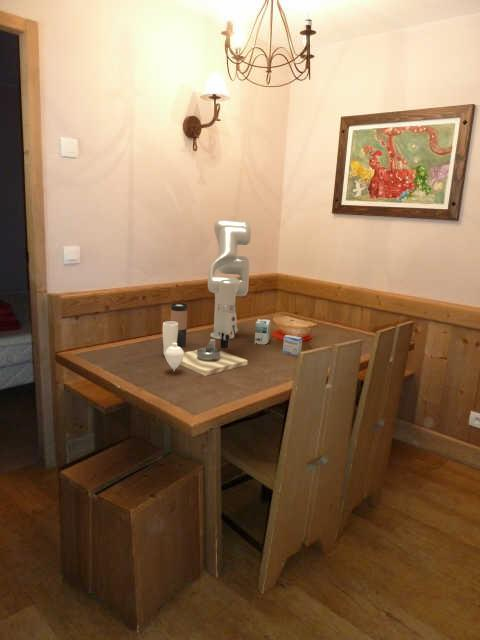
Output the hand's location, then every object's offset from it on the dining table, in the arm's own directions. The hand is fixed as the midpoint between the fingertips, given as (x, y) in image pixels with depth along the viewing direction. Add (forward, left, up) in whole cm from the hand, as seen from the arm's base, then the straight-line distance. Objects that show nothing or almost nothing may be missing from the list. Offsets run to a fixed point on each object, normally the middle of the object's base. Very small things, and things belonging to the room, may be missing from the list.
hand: (224, 347), depth 208 cm
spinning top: (+29, +2, -5) cm, 30 cm away
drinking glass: (+18, -16, -5) cm, 25 cm away
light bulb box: (-35, -9, -5) cm, 36 cm away
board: (+10, +1, -5) cm, 11 cm away
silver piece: (+7, -2, -2) cm, 7 cm away
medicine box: (-31, +14, -5) cm, 34 cm away
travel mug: (+5, -27, -5) cm, 28 cm away
